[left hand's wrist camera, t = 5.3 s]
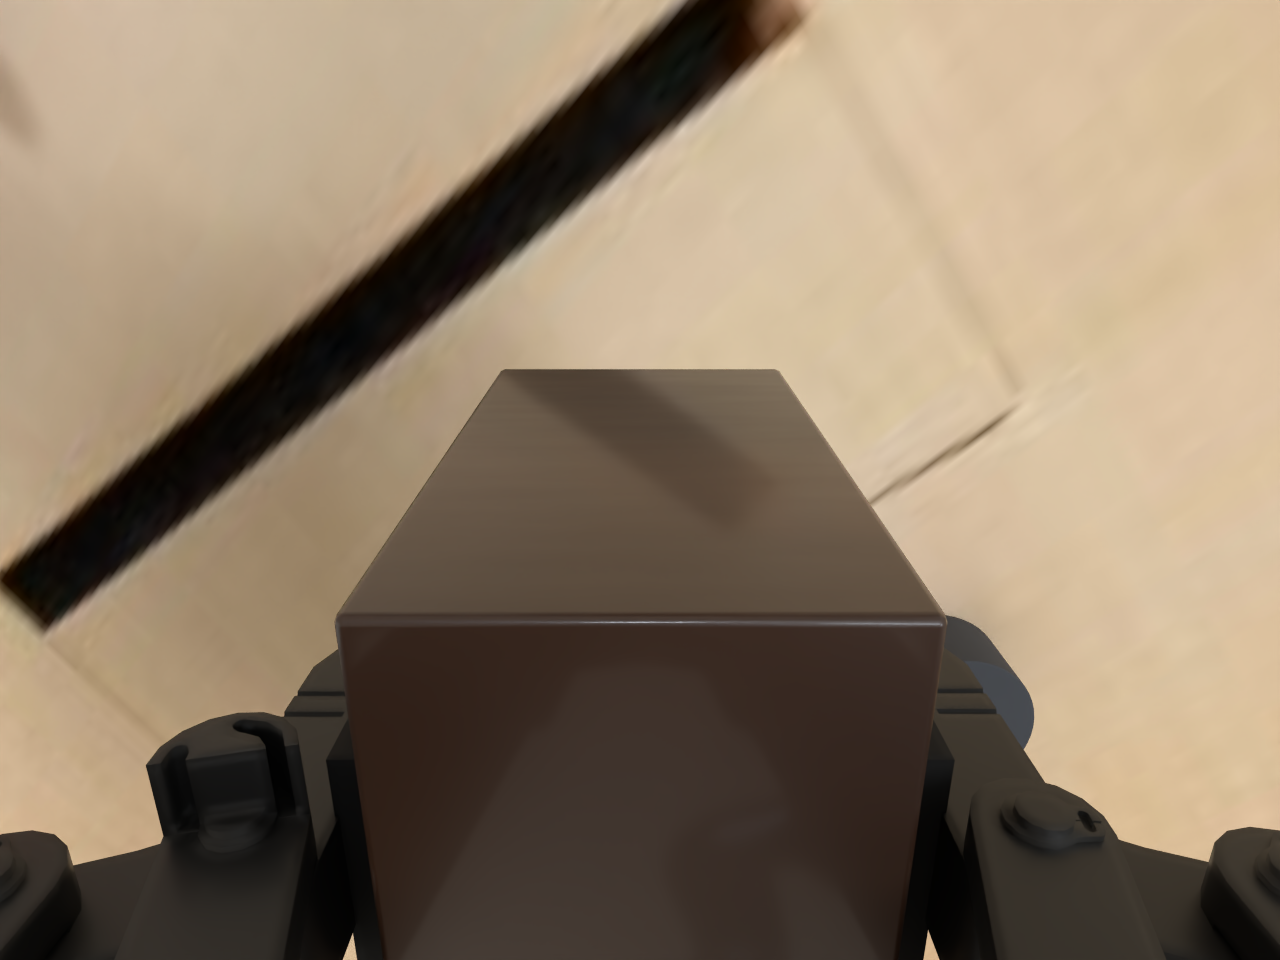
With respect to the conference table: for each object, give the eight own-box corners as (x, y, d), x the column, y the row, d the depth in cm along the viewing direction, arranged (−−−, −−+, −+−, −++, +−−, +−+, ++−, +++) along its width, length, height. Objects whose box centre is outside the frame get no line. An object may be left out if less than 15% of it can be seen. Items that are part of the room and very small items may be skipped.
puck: (866, 614, 30) (889, 660, 27) (1007, 614, 30) (1046, 661, 27) (853, 733, 31) (874, 788, 29) (987, 733, 31) (1022, 788, 29)
